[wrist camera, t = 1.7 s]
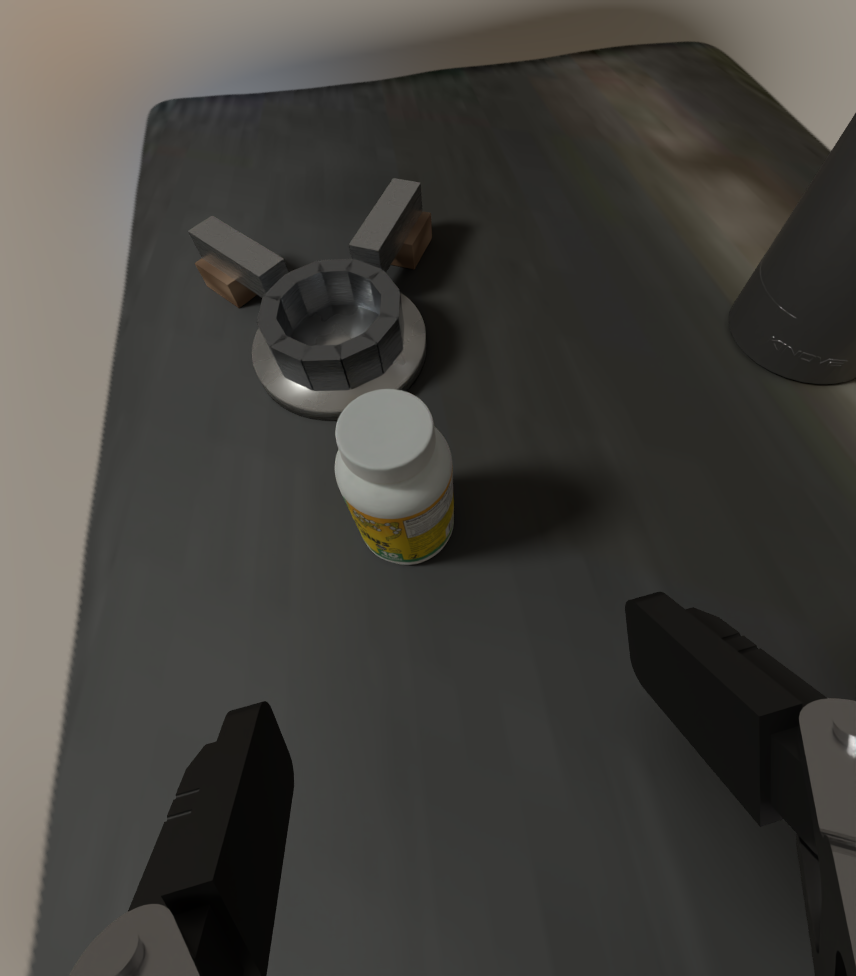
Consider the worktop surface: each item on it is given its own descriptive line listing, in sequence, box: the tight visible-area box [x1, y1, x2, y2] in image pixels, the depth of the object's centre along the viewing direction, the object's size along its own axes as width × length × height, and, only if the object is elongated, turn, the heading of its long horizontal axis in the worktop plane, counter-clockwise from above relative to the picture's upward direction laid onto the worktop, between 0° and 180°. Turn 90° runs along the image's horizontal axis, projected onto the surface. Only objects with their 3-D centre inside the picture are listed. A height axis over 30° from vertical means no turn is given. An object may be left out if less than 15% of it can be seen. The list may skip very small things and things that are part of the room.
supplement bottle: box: [335, 389, 454, 565], centre depth 23 cm, size 5×5×10 cm
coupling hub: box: [252, 259, 427, 421], centre depth 32 cm, size 12×12×4 cm
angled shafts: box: [188, 178, 422, 298], centre depth 36 cm, size 14×14×2 cm
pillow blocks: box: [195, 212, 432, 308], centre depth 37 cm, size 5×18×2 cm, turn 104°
